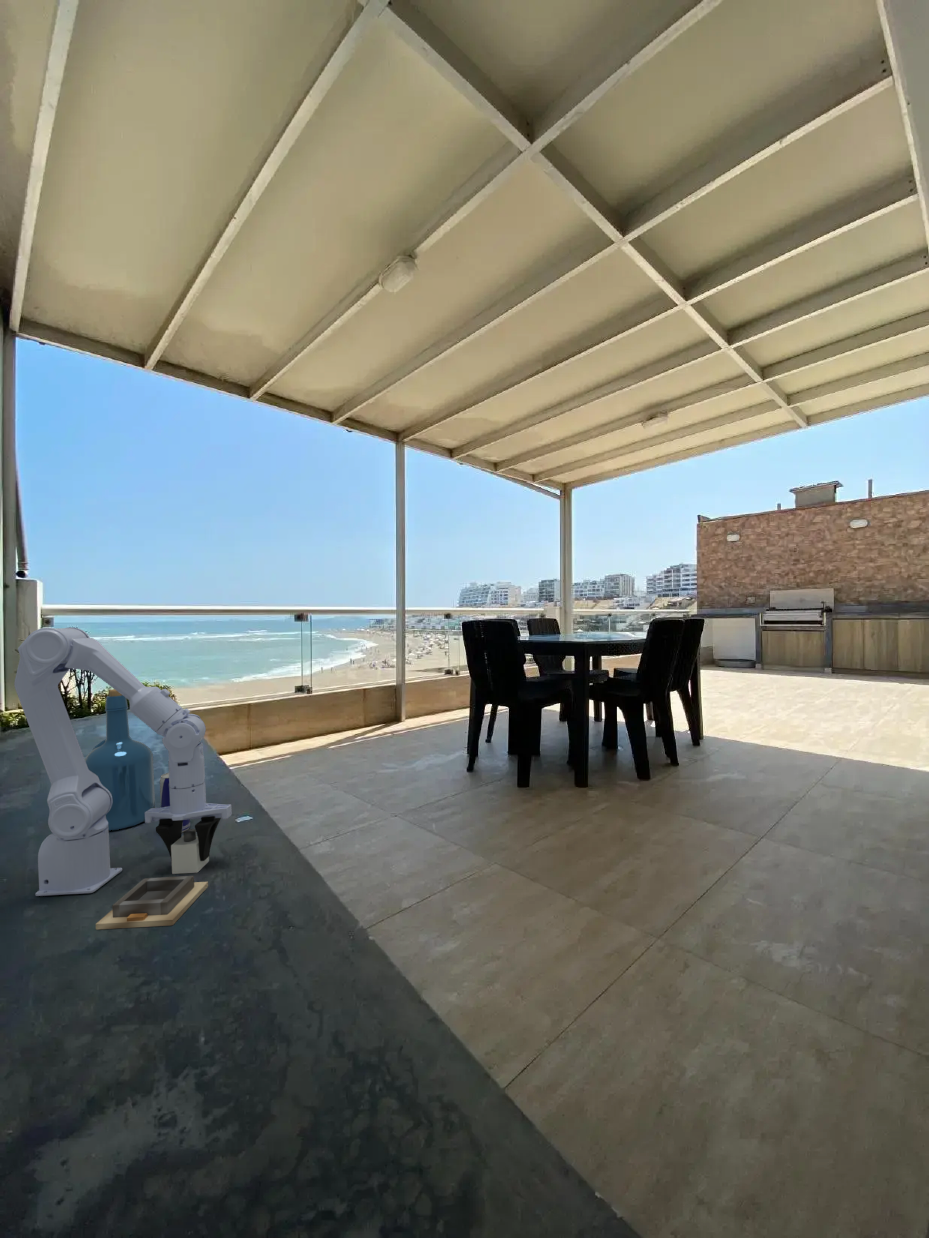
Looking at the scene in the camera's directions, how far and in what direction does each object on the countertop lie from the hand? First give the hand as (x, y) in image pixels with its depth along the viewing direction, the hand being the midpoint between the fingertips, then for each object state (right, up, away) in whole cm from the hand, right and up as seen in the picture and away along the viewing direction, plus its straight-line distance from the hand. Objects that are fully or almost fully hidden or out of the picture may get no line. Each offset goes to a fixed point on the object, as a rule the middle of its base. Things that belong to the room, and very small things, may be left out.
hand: (190, 859), depth 94 cm
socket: (+1, -1, -13) cm, 13 cm away
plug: (0, -1, 0) cm, 1 cm away
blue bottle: (-28, -3, +24) cm, 38 cm away
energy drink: (-12, -2, +18) cm, 22 cm away
